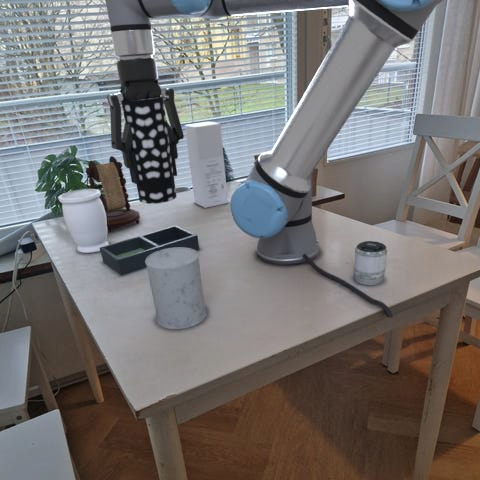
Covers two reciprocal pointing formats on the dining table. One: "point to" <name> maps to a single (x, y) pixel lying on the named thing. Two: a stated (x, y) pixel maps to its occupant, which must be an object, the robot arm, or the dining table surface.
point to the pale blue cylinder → (176, 287)
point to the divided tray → (145, 248)
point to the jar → (85, 219)
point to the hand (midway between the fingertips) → (154, 178)
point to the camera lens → (370, 262)
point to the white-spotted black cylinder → (151, 149)
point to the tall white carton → (206, 163)
